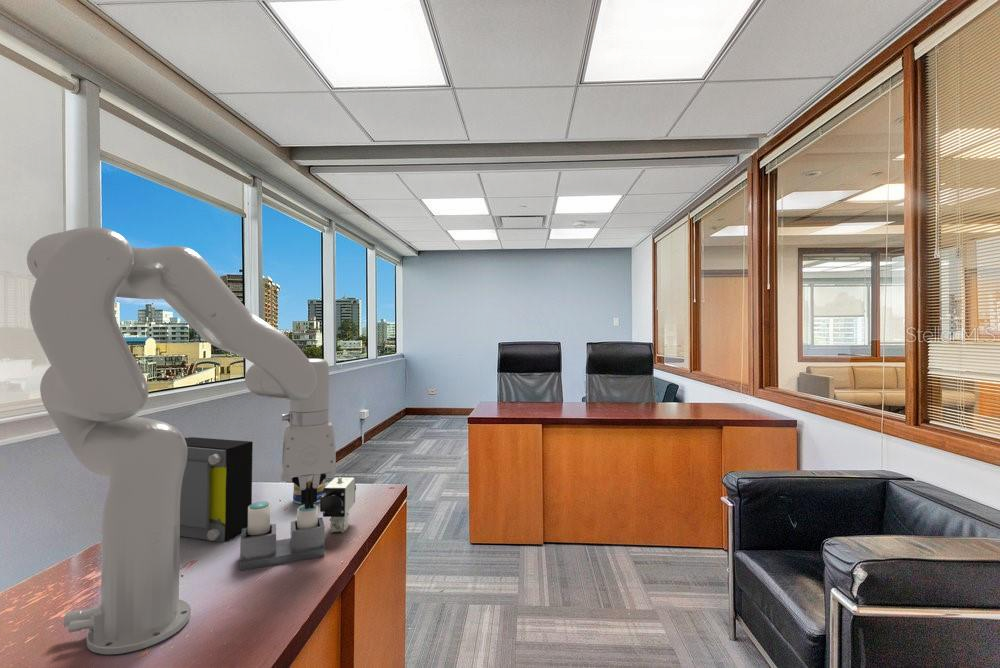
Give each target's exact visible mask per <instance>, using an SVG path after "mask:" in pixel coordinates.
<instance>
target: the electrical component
mask: <svg viewBox="0 0 1000 668" xmlns="http://www.w3.org/2000/svg"><path fill="white" fill-rule="evenodd" d="M184 438H185V441H186V444H187V450H188V455H187V462H186V467H185V471H184V476H183V481H182V488H181V499H180V537H183V538H184V537H185V538H192V539H199V540H206V541H210V542H211V541H213V542H219V543H227V542H229V541H231V540H233V539H234V538H237V537H239V536H241V532H242V528H247V527H248V507H249V506H250V505H251V504H253V498H252V497H253V446H254V444H253V441H248V440H235V439H234V440H233V439H221V438H220V439H219V438H207V437H193V436H191V437H184Z"/></svg>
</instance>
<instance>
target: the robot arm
mask: <svg viewBox="0 0 1000 668" xmlns="http://www.w3.org/2000/svg"><path fill="white" fill-rule="evenodd" d="M26 264H27V267H28V270H29V271H30V273H31V274H32V276H33V277H34V278H35V283H34V286H33V287H32V288H33V289H32V292H31V297H30V302H29V317H30V321H31V325H32V328H33V332H34V333H35V336H36V337H37V339H38V342H39V344H40V346H41V349H42V351H43V352H44V354H45V356H46V358H47V360H48V362H49V364H50V366H49V367H48V368H47V369H46V370H45V372H44V374H43V376H42V377H41V380H40V385H39V391H40V392H39V393H40V398H41V401H42V403H43V406H44V408H45V410H46V412H47V413H48V415H49V417H50V418H51V420H52V421H53V423H54V425H55V426H56V428H57V430H58V431H59V433H60V435H61V436H62V438H63V440H64V441H65V444H66V445H67V446H68V447H69V449H70V451H71V453H72V454H73V455H74V457H75V458H76V459H77V461H78V462H79V463H80V464H81V465H82V466H83V467H84V468H85V469H87V470H89V471H90V472H93V473H95V474H97V475H98V476H103V477H105V478H109V486H108V489H107V494H106V497H105V499H104V500H105V501H104V503H103V509H102V518H101V578H100V579H101V582H100V584H101V585H100V587H101V588H100V591H101V592H100V604H95V605H93V607H92V608H85V609H76V610H72V611H71V610H70V611H67V612H66V613H65V615H64V618H63V627H64V628H67V627H68V633H75V632H81V631H83V630H87V629H88V632H87V635H86V647H87V649H88V650H89V651H91V652H93V653H95V654H98V653H99V655H120V654H126V653H130V652H136V651H139V650H143V649H146V648H149V647H152V646H154V645H157V644H158V643H160V642H163V641H165V640H167V639H168V638H170V637H172V636H173V635H175V634H177V632H179V631H180V630H182V628H183V627H185V625H186V624H187V623H188V622H189V620H190V618H191V605H190V604H189V603H188V602H187V601H185V600H183V599H180V560H181V559H180V551H181V547H180V546H181V541H180V539H181V536H180V499H181V488H182V481H183V476H184V471H185V467H186V462H187V455H188V450H187V444H186V441H185V438H186V437H184V435H183V433H181V431H180V430H179V429H178V428H176V427H175V426H173V425H171V424H170V423H168V422H164V421H161V420H158V419H153V418H152V419H151V418H147V417H140V416H138V415H137V414H138V413H139V412H140V411H142V409H143V408H144V407H145V405H146V404H147V401H148V398H149V385H148V383H147V380H146V377H145V374H144V373H143V371H142V369H141V367H140V365H139V364H138V362H137V360H136V358H135V357H134V355H133V353H132V350H131V348H130V347H129V345H128V343H127V341H126V340H125V338H124V336H123V333H122V331H121V329H120V326H119V324H118V321H117V318H116V313H115V301H116V298H125V299H139V300H164V301H165V302H166V303H167V304H168V305H169V306H170V307H171V309H173V310H174V311H175V312H176V313H177V314H178V315H179V316H180V317H181V318H182V319H183V320H184V321H185V322H186V323H187V324H188V325H189V326H190V327H191V328H192V329H193V330H194V331H195V332H196V333H197V334H198V335H199V336H200V337H201V339H203V340H204V341H205V342H206V343H208V344H210V345H211V346H214V347H216V348H217V349H220V350H222V351H225V352H228V353H230V354H233V355H236V356H239V357H241V358H243V359H245V360H247V361H249V362H251V363H252V365H250V367H249V368H248V369H247V371H246V373H245V375H244V383H245V386H246V388H247V389H248V390H249V391H250V392H251V393H252V394H253V395H254V396H258V397H259V398H260V397H261V398H266V399H267V398H268V399H275V400H285V401H289V411H288V412H287V413H282V414H281V421H282V422H288V423H289V424H287V425H286V427H285V429H284V435H283V443H282V456H281V457H282V458H281V459H282V462H281V465H282V471H281V475H280V481H281V482H286V483H287V482H288V483H293V484H294V483H295V484H296V485H297V486H298V487H300V489H301V504H300V505H305V509H308V508H309V506H310V508H314V504H315V503H314V502H317V488H318V486H319V485H320V484H321V482H322V481H323V480H324V479H325V480H326V479H327V478H331V477H333V476H335V475H337V469H336V466H337V462H336V461H337V459H336V458H337V456H336V455H337V453H336V451H337V450H336V439H335V429H334V425H333V423H332V422H329V421H330V418H329V415H330V414H329V412H330V411H329V410H330V409H329V407H330V406H329V402H330V401H329V400H330V399H329V398H330V396H329V393H330V392H329V391H330V390H329V388H330V387H329V386H330V385H329V384H330V383H329V382H330V381H329V380H330V376H329V375H330V371H329V369H330V367H329V363H328V361H327V360H326V359H324V358H318V357H317V358H314V357H313V358H308V356H307V355H306V354H305V353H304V352H303V351H302V350H301V349H300V347H299V346H298V345H297V344H296V343H295V342H294V341H293V340H292V339H290V338H289V337H288V336H287V335H285V333H283V332H281V331H280V330H278V329H277V328H276V327H274V326H273V325H271V324H270V323H268V322H266V321H265V320H264V319H262V318H260V317H259V316H258V315H256V314H254V313H253V312H251V311H250V310H249V308H247V307H246V306H245V305H244V304H243V302H242V301H241V300H240V299H239V298H238V297H237V296H236V295H235V293H234V292H233V291H232V290H231V289H230V287H229V286H228V285H227V284H226V283H225V282H224V280H222V278H221V277H220V276H219V275H218V274H217V272H216V271H215V270H214V269H213V268H212V267H211V266H210V264H209V263H208V262H207V261H206V259H204V258H203V257H202V256H201V255H200V254H199V253H198V252H197V251H195V250H194V249H191V248H190V247H186V246H181V245H167V246H160V247H159V246H158V247H152V248H151V247H150V248H143V247H142V248H141V247H133V246H131V244H130V243H129V241H128V240H127V239H126V238H125V237H124V236H123V235H122V234H120V233H118V232H116V231H114V230H112V229H109V228H105V227H97V226H87V227H85V226H84V227H79V228H78V227H77V228H73V229H69V230H65V231H64V230H63V231H61V232H57V233H51V234H48V235H46V236H43V237H40V238H39V239H38V240H35V242H34V243H32V245H31V246H30V248H29V250H28V252H27V255H26ZM310 475H313V477H312V482H311V483H310V486H309V487H308V484H307V483H306V481H305V476H310ZM317 503H318V502H317Z"/></svg>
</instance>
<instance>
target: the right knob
mask: <svg viewBox="0 0 1000 668" xmlns="http://www.w3.org/2000/svg"><path fill="white" fill-rule="evenodd" d="M296 510H297V511H296V520H297V530H300V529H307V528H313V527H318V518H319V506H318V505H316V503H314V508H310V506H309V508H308V509H305V504H301V505H300V506H299V507H298V508H297V509H296Z"/></svg>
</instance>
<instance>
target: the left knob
mask: <svg viewBox="0 0 1000 668" xmlns="http://www.w3.org/2000/svg"><path fill="white" fill-rule="evenodd" d="M270 524H271V503H269V502H267V501H256V502H252V504H251V505H250V506H249V507H248V534H249V535H261V534H265V533H267V532H269V531H270Z"/></svg>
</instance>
